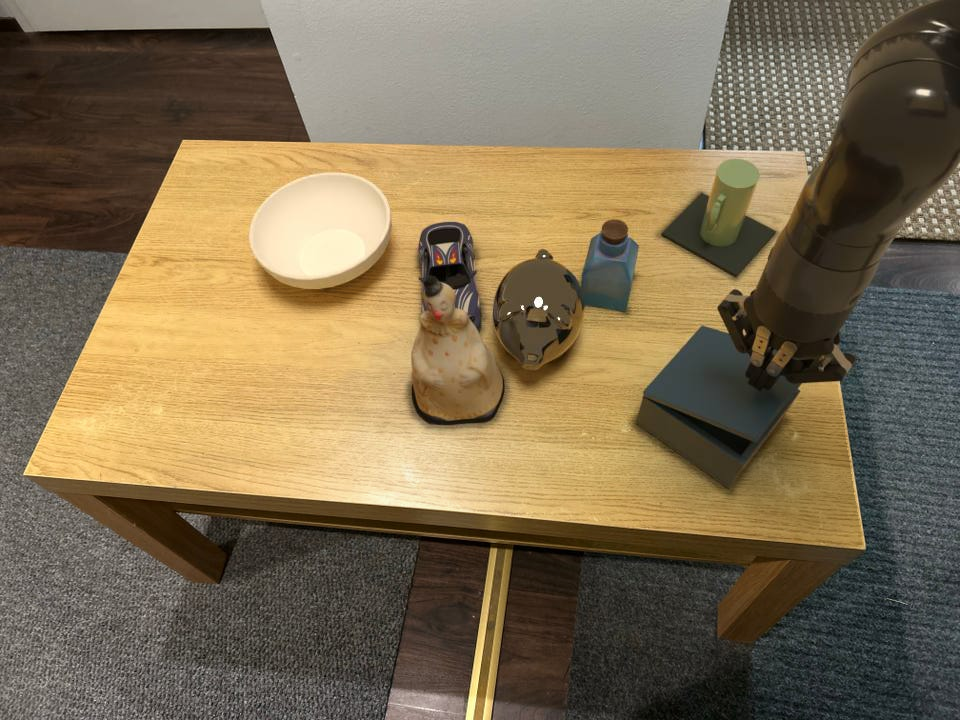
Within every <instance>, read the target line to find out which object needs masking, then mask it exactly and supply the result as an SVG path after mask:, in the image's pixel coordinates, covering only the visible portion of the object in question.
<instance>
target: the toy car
mask: <svg viewBox="0 0 960 720" xmlns="http://www.w3.org/2000/svg"><path fill="white" fill-rule="evenodd" d="M418 257H419V262H420V266H421V276H418V280H419V281H420V282H421V287H422V288H421V293H422V294H421V298H422V299H421V311H422V313H423V312H425V311H428V309H427V308H426V305H425V303H424V300H423V294H424V290H425V286H424V284H423V282H424V281H425V280H426V278H427V277H428V275H431V276H435V277H436V278H437V279H438V281H439V282H442V283H445V284H447V285H449V286H450V287H451V288H452V289H453V290H454V292H455V294H456V299H455V304H454V307H455V308H457V309H462V310H464V311H466V312H467V315H468V317H469V319H470V320H471V322H472V323H473V324H474V325H475V327H476V328H477V330H478V332H479V333H480V332H481V328H482V307H481V299H480V294H479V289H478V283H477V277H476V274H478V270H477V269H476V262H475V261H476V260H475V258H476V257H475V248H474V239H473V236H472V233H471V231H470V230H469V227H467V225H466V224H464V223H462V222H458V221H441V222H437V223H432V224H430V225H428V226H426V227H425V228H423V229H422V230H421V233H420V235H419V241H418Z"/></svg>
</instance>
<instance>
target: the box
mask: <svg viewBox="0 0 960 720" xmlns="http://www.w3.org/2000/svg"><path fill="white" fill-rule="evenodd" d="M800 393H801V389H799V388H798V389H797V390H796V392H795V393H794V394H793V396H792V397H791V398H790V399H789V401H788V402H787V403H786V405H785V406H784V407H783V409H782V410H781V411H780V412H779V414H778V415H777V416H776V418H775V419H774V420H773V421H772V423H771V424H770V425H769V427H768V428H767V429H766V430H765V432H764V433H763V434H762V436H761V437H760V438H759V440H758V441H757V442H756V443H755V442H753V441H751V440H748V439H746V438H743V437H741V436H738V435H736V434H734V433H731V432H729V431H726V430H724V429H722V428H719V427H717V426H714V425H712V424H709V423H707V422H705V421H702V420H700V419H697V418H695V417H693V416H690V415H688V414H685V413H683V412H681V411H678V410H676V409H673V408H671V407H668V406H666V405H664V404H661V403H659V402H656V401H654V400H652V399H649V398H647V397H644V395H642V397H641V398H642V399H641V402H640V406H639V410H638V413H637V418H636V422H635V424H636V425H637V426H639V427H641V428H642V429H643V430H645V431H646V432H647V433H649V434H650V435H652V437H654V438H656V439H657V440H659V441H660V442H662V443H663V444H664V445H666V446H667V447H668V448H670V449H672V451H674V452H675V453H677V454H679V455H680V456H682V457H683V458H684V459H686V460H687V461H688V462H690V463H691V464H693V466H695V467H697V468H698V469H700V470H701V471H702V472H703V473H705V474H706V475H708V476H710V477H711V478H712V479H713V480H715V481H717V482H718V483H720V484H721V485H722V486H724V487H725V488H726V489H730V488H731V486H732V485H733V484H734V482H735V481H736V480H737V479H738V477H739V476H740V475H741V473H742V472H743V471H744V469H745V468H746V467H747V466H748V465H749V463H750V461H751V460H752V459H753V458H754V456H755V455H756V454H757V452H758V451H759V450H760V449H761V447H762V446H763V445H764V443H765V442H766V441H767V440H768V438H769V437H770V436H771V435H772V433H773V432H774V431H775V429H776V428H777V427H778V425H779V424H780V423H781V421H782V420H783V418H784V417H785V416H786V414H787V412H788V411H789V410H790V408H791V407H792V405H793V404H794V402H795V400H796V399H797V397H798V396H799V394H800Z"/></svg>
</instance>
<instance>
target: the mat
mask: <svg viewBox="0 0 960 720" xmlns="http://www.w3.org/2000/svg"><path fill="white" fill-rule="evenodd" d="M709 196H710V195H707V194H705V193H704V192H700V193H699V195H697V197H695V198H694V200H692V201H691V202H690V204H689V205H688V206H687V207H686V208H685V209H684V210H683V211H682V212H681V213H680V214H679V215H678V216H677V217H675V219H674V220H672V222H671V223H670V224H668V226H667V227H666V228H665V229H664V230H663V231H662V232H661V234H660V235H661V236H662V237H664V238H666V239H667V240H669V241H671V242H672V243H674V244H676V245H678V246H679V247H682V248H683V249H685V250H687V251H689V253H692V254H693V255H696V256H698V257H699V258H701V259H703V260H704V261H706V262H708V263H709V264H711V265H713V266H715V267H716V268H719V269H721V270H723V272H726V273H727V274H730V276H733V277H735V278H737V277H738V276H739V275H740V274H741V273H742V272H743V270H744V269H745V268H746V267H747V266H748V265H749V264H750V262H752V261H753V259H754V258H755V257H756V256H757V255H758V253H760V251H761V250H762V249H763V248H764V247H765V246H766V244H767V243H769V242H770V240H772V238H773V237H774V236H775V235H776V233H777V230H774V229H772V228H771V227H769V226H767V225H765V224H763V223H761V222H760V221H758V220H755V219H753V218H751V217H750V216H748V215H746V216H745V219H744V222H743V225H742V227H741V230H740V233H739V236H738V238H737V240H736V241H735V242H734V243H733V244H731V245H729V246H724V247H718V246H713V245H711V244H709V243H707V242H706V241H705V240H704V239H703V238H702V237H701V234H700V228H701V224H702V221H703V217H704V214H705V210H706V207H707V203H708V200H709Z"/></svg>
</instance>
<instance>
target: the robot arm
mask: <svg viewBox="0 0 960 720" xmlns="http://www.w3.org/2000/svg"><path fill="white" fill-rule="evenodd" d="M836 123H837V124H836V127H835V130H834V133H833V136H832V139H831V142H830V144H829V147H828V150H827V152H826V155H825V157H824V160H822V161H821V162H820V163H819V164H818V165H817V166H816V167H815V168H814V169H813V171H812V172H811V173H810V174H809V176H808V178H807V179H806V181H805V183H804V185H803V187H802V189H801V192H800V193H799V196H798V198H797V201H796V203H795V205H794V207H793V210H792V213H791V214H790V217H789V218H788V220H787V223H786V224H785V226H784V227H783V228H782V230H781V231H780V233H779V235H778V237H777V238H776V241H775V243H774V245H773V246H771V249H770V251H769V254H768V256H767V262H766V264H765V266H764V268H763V271H762V273H761V275H760V277H759V280H758V282H757V284H756V287H755V289H753V290H752V291H750V293H749V295H743V292H741V291H740V290H739V289H736V288H734V289H732V290H731V291H730V292H729V293H728V294H727V295H726V296H725V297H724V298H723V299H722V300H721V301H720V303H719V304H718V305H717V307H716V309H717V311H718V314H719V316H720V317H721V320H722V322H723V324H724V326H725V329H726V331H727V333H729V335H730V337H731V339H732V341H733V343H734V345H735V347H736V349H737V350H738V351H739V352H740V353H748V354H749V355H750V357H751V359H750V361H751V362H750V365H749V367H748V369H747V371H746V373H745V375H746V377H747V378H749V381H748V384H749V385H751V386H752V387H754V388H756V389H757V390H759V391H761V390H762V389H763V388H765V389H766V390H769V389H771V388H772V387H773V385H774V384H775V383H776V382H777V380H778V379H779V377H780V376H785V378H786V380H787V381H788V382H790V383H793V384H799V383H802V384H814V383H816V384H817V383H832V382H841V381H842V380H844V378H845V377H846V375H847V374H848V373H849V372H850V370H851V369H852V367H853V366H854V365H855V363H856V362H857V358H856V357H855V355H854V354H852V353H849V352H842V350H841V349H840V348H839V346H838V345H839V344H840V342H841V332H840V331H841V329H842V327H843V326H844V324H845V323H846V321H847V319H848V318H849V317H850V315H851V313H852V312H853V310H854V309H855V307H856V305H857V304H858V302H859V301H860V300H861V298H862V297H863V295H864V294H865V291H866V290H867V288H868V287H869V285H870V284H871V282H872V280H873V279H874V277H875V275H876V274H877V271H878V269H879V267H880V264H881V261H882V259H883V257H884V255H885V254H886V252H887V250H889V248H890V246H891V245H892V243H893V242H894V240H895V238H896V237H897V235H898V234H899V232H900V231H901V229H902V227H903V225H904V224H905V222H906V220H907V218H909V217H910V216H911V215H913V214H914V213H915V212H917V210H919V209H920V208H921V207H922V206H923V205H924V204H925V203H926V202H927V201H928V200H929V199H930V198H932V196H933V195H935V194H936V192H937V191H939V190H940V189H941V188H942V187H943V186H944V184H945V183H947V181H948V180H949V179H950V178H951V176H952V175H953V174H954V173H955V171H956V170H957V168H958V167H959V165H960V0H932V1H929V2H925V3H924V4H921V5H919V6H916V7H914V8H912V9H909V10H907V11H905V12H904V13H902V14H900V15H898V16H897V17H895V18H893V19H891V20H890V21H888V22H887V23H885V24H883V25H882V26H881V27H880V28H878V29H877V30H875V31H874V32H873V33H872V34H871V35H870V36H869V37H867V38H866V39H865V41H863V43H862V44H861V45H860V46H859V48H858V49H857V50H856V52H855V54H854V56H853V58H852V60H851V62H850V64H849V67H848V72H847V77H846V82H845V87H844V92H843V97H842V100H841V105H840V110H839V115H838V120H837V122H836ZM744 332H745V334H744ZM774 350H777V351H778V352H777V354H776V355H775V356H774V355H773V354H772V353H773V351H774ZM773 357H774V358H773ZM794 358H797V359H798V360H797V359H794Z"/></svg>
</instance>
